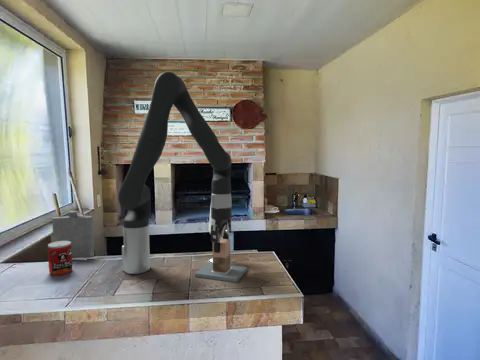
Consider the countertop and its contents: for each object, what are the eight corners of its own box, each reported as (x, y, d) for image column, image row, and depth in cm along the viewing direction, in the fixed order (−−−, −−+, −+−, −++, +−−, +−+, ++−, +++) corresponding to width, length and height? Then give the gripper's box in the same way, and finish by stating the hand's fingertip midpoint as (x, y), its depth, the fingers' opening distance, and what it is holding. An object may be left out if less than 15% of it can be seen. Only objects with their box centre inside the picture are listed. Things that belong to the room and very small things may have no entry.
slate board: (195, 276, 115) (195, 272, 115) (208, 265, 126) (208, 261, 126) (236, 282, 110) (236, 278, 109) (247, 270, 121) (247, 266, 121)
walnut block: (212, 271, 116) (212, 256, 116) (218, 266, 121) (218, 252, 120) (225, 272, 114) (225, 258, 114) (230, 268, 119) (230, 253, 119)
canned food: (51, 277, 114) (50, 247, 113) (47, 271, 120) (45, 243, 119) (75, 272, 119) (73, 243, 118) (69, 266, 125) (68, 239, 124)
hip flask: (52, 259, 133) (50, 212, 131) (57, 256, 137) (54, 210, 135) (92, 257, 135) (90, 211, 134) (95, 254, 139) (93, 209, 138)
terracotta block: (212, 256, 116) (212, 241, 115) (217, 252, 120) (217, 238, 120) (225, 258, 114) (225, 243, 113) (230, 253, 119) (230, 239, 118)
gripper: (219, 202, 123) (219, 242, 125) (203, 208, 110) (204, 253, 111) (237, 203, 121) (237, 244, 122) (223, 209, 108) (223, 256, 109)
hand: (221, 248), depth 117 cm, fingers open, 8 cm apart
